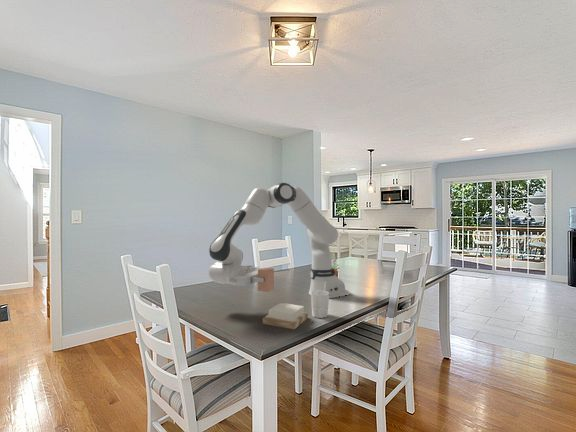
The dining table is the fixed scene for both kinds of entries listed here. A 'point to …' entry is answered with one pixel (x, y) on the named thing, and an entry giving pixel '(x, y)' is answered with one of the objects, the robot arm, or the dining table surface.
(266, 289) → the terracotta pillar
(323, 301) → the white cup
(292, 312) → the cream slab
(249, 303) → the dining table surface
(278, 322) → the oak slab
